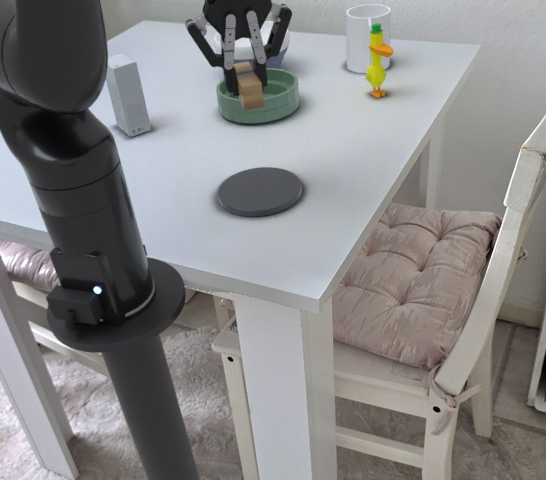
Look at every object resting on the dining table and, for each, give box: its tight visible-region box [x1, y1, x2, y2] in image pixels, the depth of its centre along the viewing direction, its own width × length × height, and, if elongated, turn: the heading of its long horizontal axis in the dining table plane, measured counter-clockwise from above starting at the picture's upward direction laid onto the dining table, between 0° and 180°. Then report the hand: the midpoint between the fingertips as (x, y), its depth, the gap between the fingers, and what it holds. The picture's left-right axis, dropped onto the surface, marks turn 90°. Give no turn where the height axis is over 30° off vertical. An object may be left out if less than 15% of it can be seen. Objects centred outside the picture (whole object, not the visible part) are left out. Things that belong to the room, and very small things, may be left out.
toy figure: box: [365, 24, 394, 99], centre depth 113 cm, size 7×4×12 cm, turn 30°
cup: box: [345, 3, 392, 74], centre depth 123 cm, size 8×12×10 cm
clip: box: [234, 62, 264, 110], centre depth 87 cm, size 8×3×3 cm, turn 13°
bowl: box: [213, 20, 290, 69], centre depth 128 cm, size 14×14×8 cm
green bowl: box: [215, 68, 301, 124], centre depth 116 cm, size 14×14×4 cm
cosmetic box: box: [105, 53, 152, 138], centre depth 112 cm, size 6×4×12 cm
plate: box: [217, 166, 303, 218], centre depth 95 cm, size 12×12×1 cm
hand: (247, 91), depth 87 cm, fingers closed on clip, 2 cm apart
